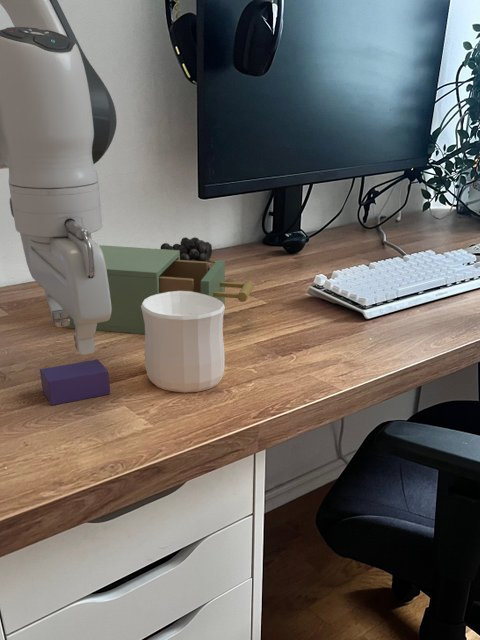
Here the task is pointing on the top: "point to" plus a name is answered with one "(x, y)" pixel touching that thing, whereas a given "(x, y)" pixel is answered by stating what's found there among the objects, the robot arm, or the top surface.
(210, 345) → the cup
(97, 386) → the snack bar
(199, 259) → the fruit
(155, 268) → the cabinet
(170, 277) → the drawer
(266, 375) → the top surface
